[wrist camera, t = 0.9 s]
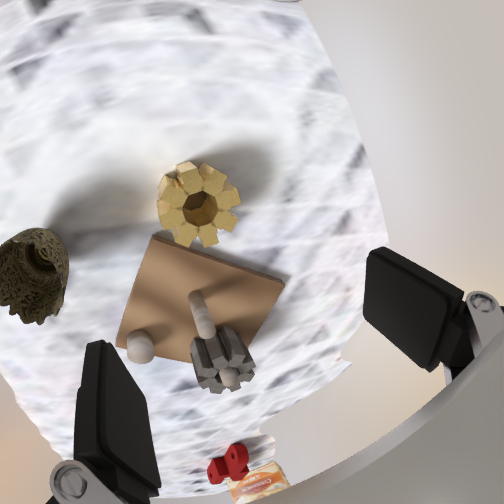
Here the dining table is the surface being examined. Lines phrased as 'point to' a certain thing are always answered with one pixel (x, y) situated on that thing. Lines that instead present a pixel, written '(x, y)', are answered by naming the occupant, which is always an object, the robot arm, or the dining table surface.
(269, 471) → the coffeecake box
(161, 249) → the gear board
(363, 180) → the dining table surface
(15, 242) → the cup
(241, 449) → the mechanical linkage
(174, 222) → the brass gear
